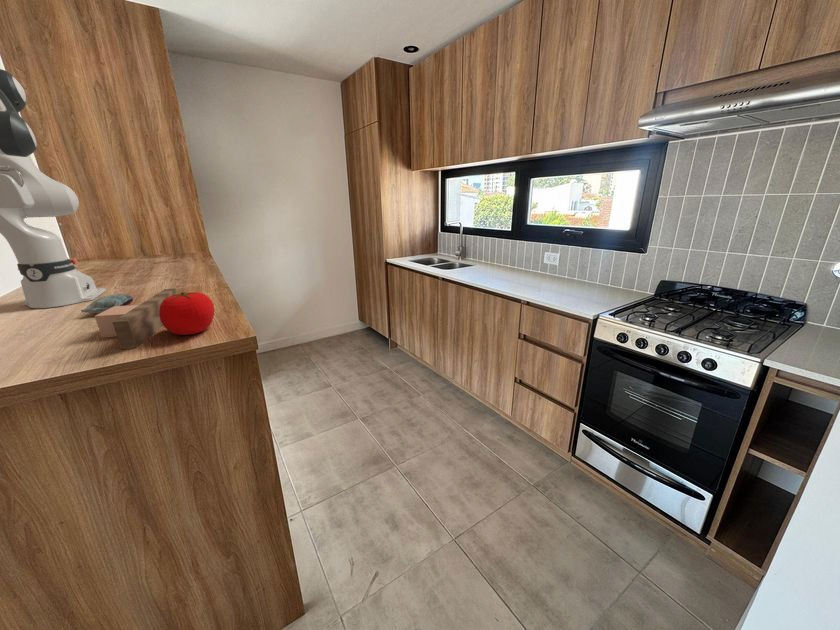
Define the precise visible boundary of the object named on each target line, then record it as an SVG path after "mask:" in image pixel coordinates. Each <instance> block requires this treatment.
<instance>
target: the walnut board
mask: <svg viewBox="0 0 840 630" xmlns="http://www.w3.org/2000/svg"><path fill="white" fill-rule="evenodd" d="M176 294H178V292H177V289H176V288H164V289H162V290H161V291H159V292H157V293H156V294H154V295H152V296H151V297H150V298H149V299H147V300H145V301H144V302H142V303H140V304H138V305H139V306H137V307H135V308H134V309H132V310H131V311H129V312H127V313H126V314H124V315H123V316H121V317H120V318H118V319H116V320H115V321H113V322H112V323H113V326H114V329H115V332H116V335H117V336H116V338H117V340H118V344H119V345H120V349H121V350H128V349H137V348H138V347H140V346H141V344H143V343H144V342H145V341H146V340H147V339H148V338H150V337H151V336H152V335H153V334H154V333H155V332H157V331H158V330H159V329H160V328H162V326H164V325H163V324H162V322H161V320H160V316H159V309H160V305H161V303H162V301H163V300H164V299H166V298H167V297H170V296H172V295H176Z"/></svg>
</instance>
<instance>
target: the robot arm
mask: <svg viewBox="0 0 840 630" xmlns="http://www.w3.org/2000/svg"><path fill="white" fill-rule="evenodd" d="M26 105H27V96H26V92H25V89H24V87H23V86H22V85H21V83H20V82H19V81H18V80H17V79H16V78H15V76H14V75H13V74H11V73H10V72H9V71H7V70H5V69H1V68H0V234H1V235H2V237H4V239H5V240H6V241H7V243H8V244H9V247H10V248H11V250H12V252H13V253H14V256H15V259H16V260H17V264H16V265H17V270H18V271H19V273H20V275H21V276H23V277H22V279H21V280H20V284H21V288H22V292H23V295H24V299H25V301H22V304H23V306H27V307H28V308H31V309H47V308H56V307H63V306H69V305H73V304H77V303H82V302H88V301H95V300H96V299H98V297H100V296H101V295H102V294H104V293H105V292H106V290H107V289H106V288H105V287H97V286H96V284H95V281H94V279H93V278H92V276H89V275H87V274H86V273H84V272H81V271H79V270H78V269H76V267H75V265H78V264H79V263H78V260H77V258H68V256H67V253H66V251H65V248H64V245H63V242H62V239H61V238H60V237H59V236H58V235H57V233H54V232H52V231H48V230H46V229H43V228H40V227H38V228H37V227H34V226H32V225H30V224H28V223H26V221H25V219H27V218H53V217H54V218H55V217H56V218H57V217H61V216H63V217H64V216H68V215H73V214H75V213H76V212H77V211H78V210H79V207H80V200H79V198H78V195H77V194H76V192H75V191H74V190H73V189H72V188H71V187H69V186H68V185H66V184H65V183H62V182H60V181H57V180H55V179H54V178H51V177H50V176H48V175H46V174H45V173H43V172H42V171H41V170H39V168H38V167H37V166H36V165H35V163H34V161H33V159H32V157H31V155H32V154H34V152H36V151H37V148H38V147H37V146H38V145H37V139H36V136H35V134H34V132H33V130H32V128H31V127H30V126H29V125H28V123H27V122H26V121H25V119H23V117H21V115H20V112H21V111H23V110H24V109H25V107H26Z"/></svg>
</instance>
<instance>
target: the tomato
mask: <svg viewBox="0 0 840 630" xmlns="http://www.w3.org/2000/svg"><path fill="white" fill-rule="evenodd" d="M159 316H160V320H161V322H162V324H163V325H162V326H163V327H164V328H165V329H166V330H168V331H169V332H170V333H172V334H174V335H179V336H186V335H188V336H189V335H197V334H198V333H202V332H203V331H206V330H207V329H208V328H209V326H211V324H212V323H213V322H214V321H213V320H214V317H215V304H214V303H213V300H212V299H211V297H210V296H208V295H206V294H205V293H203V292H198V291H193V292H192V291H191V292H187V291H184V292H183V291H182V292H180V293H177V294H176V295H172V296H170V297H167V298H166V299H164V300H163V301H162V303H161V305H160V309H159Z"/></svg>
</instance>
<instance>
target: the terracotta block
mask: <svg viewBox="0 0 840 630" xmlns="http://www.w3.org/2000/svg"><path fill="white" fill-rule="evenodd" d="M139 305H140V304H133V305H130V304H129V305H128V306H114V307H112V308H110V309H108V310H106V311H104V312H102V313H100V314H95V315H94V319H95V321H96V324H97V327H98V331H99V333H100V335H101V338H109V337H117V335H116V332H115V329H114V326H113V323H112V322H113V321H115V320H116V319H118V318H120V317H121V316H123V315H124V314H126V313H127V312H129V311H131V310H132V309H134V308H135V307H137V306H139Z"/></svg>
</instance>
